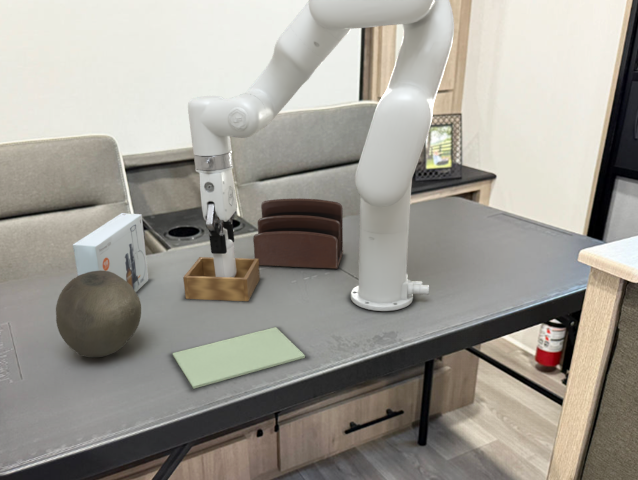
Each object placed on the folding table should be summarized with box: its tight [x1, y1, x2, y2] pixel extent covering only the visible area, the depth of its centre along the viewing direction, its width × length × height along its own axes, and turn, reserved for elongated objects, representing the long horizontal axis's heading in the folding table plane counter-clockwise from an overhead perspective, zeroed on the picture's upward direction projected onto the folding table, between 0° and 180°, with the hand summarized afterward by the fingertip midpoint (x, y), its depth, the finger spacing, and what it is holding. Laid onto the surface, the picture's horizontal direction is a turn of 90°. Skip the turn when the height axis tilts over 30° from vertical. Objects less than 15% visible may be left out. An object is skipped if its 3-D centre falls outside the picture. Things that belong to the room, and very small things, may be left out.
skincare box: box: [72, 212, 150, 293], centre depth 125 cm, size 21×5×16 cm, turn 168°
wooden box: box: [182, 256, 261, 302], centre depth 130 cm, size 14×12×5 cm
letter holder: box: [252, 198, 344, 270], centre depth 142 cm, size 10×20×14 cm, turn 78°
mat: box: [172, 326, 306, 390], centre depth 105 cm, size 20×12×1 cm, turn 116°
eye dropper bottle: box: [212, 228, 237, 277], centre depth 127 cm, size 4×6×12 cm
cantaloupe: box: [55, 270, 142, 358], centre depth 105 cm, size 14×14×15 cm
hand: (223, 247), depth 127 cm, fingers closed on eye dropper bottle, 5 cm apart
